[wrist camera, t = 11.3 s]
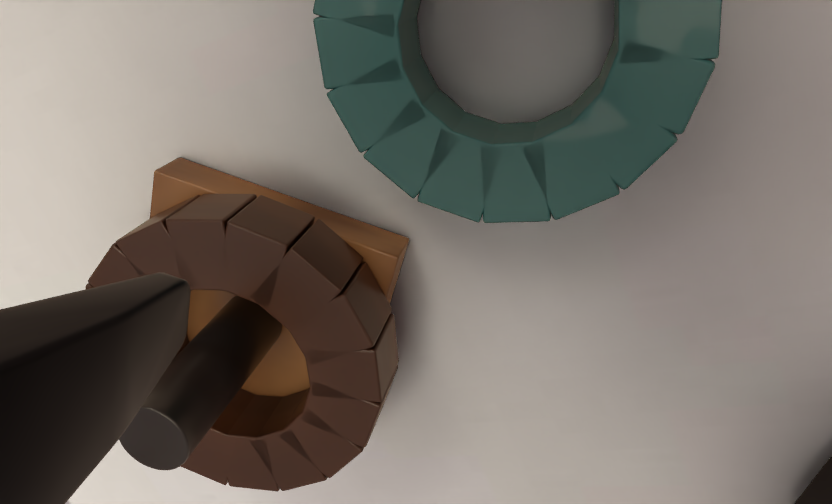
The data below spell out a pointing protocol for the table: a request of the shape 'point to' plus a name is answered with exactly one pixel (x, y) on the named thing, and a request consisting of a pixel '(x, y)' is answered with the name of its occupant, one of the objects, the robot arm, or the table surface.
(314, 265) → the walnut ring
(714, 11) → the teal ring
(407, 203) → the table surface
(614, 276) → the table surface
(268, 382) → the peg stand
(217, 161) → the table surface
